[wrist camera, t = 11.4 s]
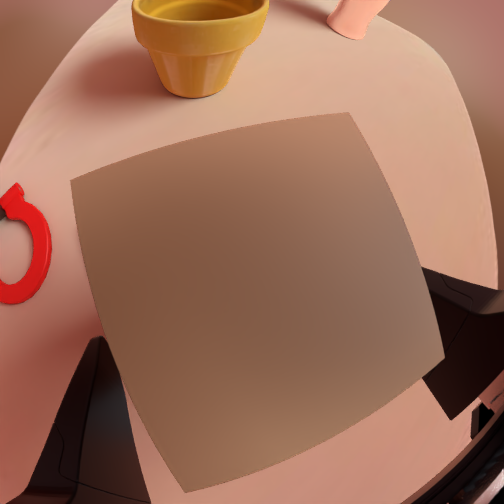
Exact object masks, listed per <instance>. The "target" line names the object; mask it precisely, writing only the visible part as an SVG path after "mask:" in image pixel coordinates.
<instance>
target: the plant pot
mask: <svg viewBox="0 0 504 504" xmlns="http://www.w3.org/2000/svg"><path fill="white" fill-rule="evenodd" d="M268 9H269V0H133V2H132V19H133V25H134V31H135V35H136V38H137V40H138V42H139V43H140V44H141V45H142V46H144V47H145V48H147V49H148V51H149V54H150V56H151V58H152V61H153V63H154V65H155V68H156V70H157V73H158V75H159V77H160V80H161V82H162V84H163V86H164V87H165V88H166V89H167V90H168V91H170V92H171V93H173V94H175V95H178V96H182V97H188V98H199V97H205V96H209V95H212V94H215V93H217V92H218V91H220V90H221V89H223V88H224V87H225V86H226V84H227V83H228V81H229V79H230V77H231V75H232V73H233V71H234V69H235V67H236V65H237V63H238V61H239V59H240V57H241V55H242V54H243V52H244V50H245V48H246V47H247V46H248V45H250V44H251V43H253V42H254V41H255V40H256V39H257V38H258V37H259V35H260V33H261V30H262V28H263V25H264V22H265V19H266V16H267V12H268Z"/></svg>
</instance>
